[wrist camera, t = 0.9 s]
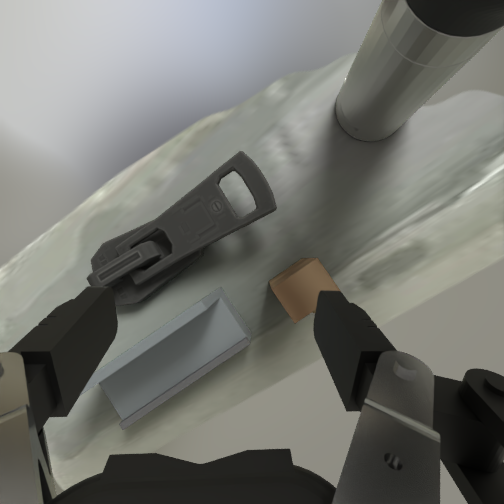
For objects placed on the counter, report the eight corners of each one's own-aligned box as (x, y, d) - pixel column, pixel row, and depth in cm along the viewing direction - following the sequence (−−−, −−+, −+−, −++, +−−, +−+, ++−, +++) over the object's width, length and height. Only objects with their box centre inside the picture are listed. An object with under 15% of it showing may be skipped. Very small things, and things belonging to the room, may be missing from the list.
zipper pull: (285, 209, 30) (93, 324, 31) (281, 218, 37) (123, 313, 37) (244, 141, 31) (55, 256, 31) (247, 162, 37) (91, 256, 38)
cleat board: (220, 286, 37) (200, 300, 25) (251, 332, 37) (246, 369, 25) (110, 361, 37) (39, 410, 25) (140, 407, 37) (82, 479, 25)
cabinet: (302, 258, 37) (317, 257, 27) (323, 288, 36) (346, 299, 26) (268, 281, 37) (271, 289, 27) (289, 310, 36) (299, 330, 26)
